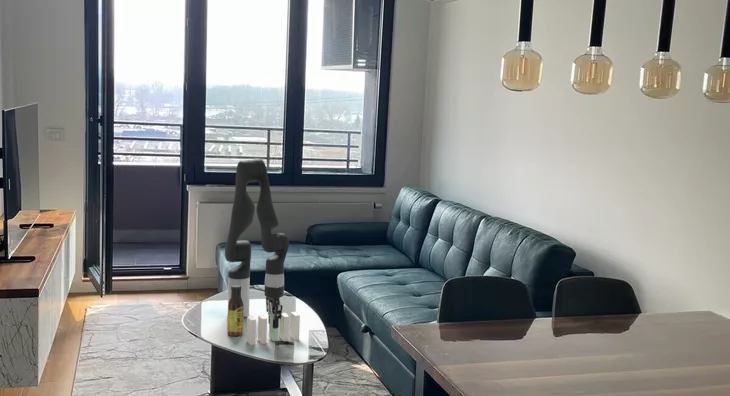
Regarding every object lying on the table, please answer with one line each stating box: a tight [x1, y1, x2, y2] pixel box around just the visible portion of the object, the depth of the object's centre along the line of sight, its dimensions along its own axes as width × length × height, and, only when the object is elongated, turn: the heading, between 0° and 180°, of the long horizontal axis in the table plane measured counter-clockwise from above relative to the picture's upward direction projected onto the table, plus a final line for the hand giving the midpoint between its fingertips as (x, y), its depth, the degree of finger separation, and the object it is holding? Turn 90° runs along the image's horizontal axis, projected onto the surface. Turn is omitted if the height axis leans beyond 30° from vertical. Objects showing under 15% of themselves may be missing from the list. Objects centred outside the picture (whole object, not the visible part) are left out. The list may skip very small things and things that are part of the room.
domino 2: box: [257, 314, 268, 345], centre depth 271 cm, size 5×2×10 cm, turn 26°
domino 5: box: [289, 311, 301, 341], centre depth 277 cm, size 5×2×10 cm, turn 26°
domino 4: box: [279, 312, 290, 342], centre depth 275 cm, size 5×2×10 cm, turn 25°
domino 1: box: [246, 315, 257, 346], centre depth 269 cm, size 5×2×10 cm, turn 26°
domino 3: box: [268, 313, 279, 342], centre depth 273 cm, size 5×2×10 cm, turn 26°
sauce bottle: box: [226, 285, 244, 337], centre depth 277 cm, size 7×6×20 cm
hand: (273, 325), depth 273 cm, fingers closed on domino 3, 4 cm apart
